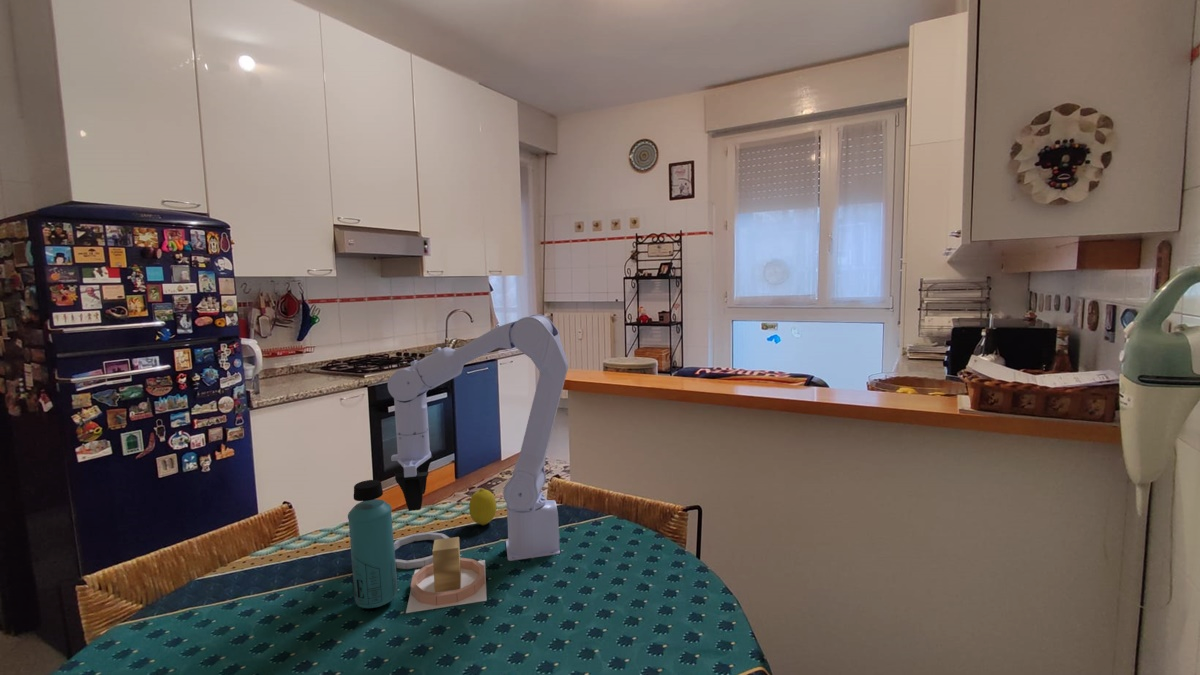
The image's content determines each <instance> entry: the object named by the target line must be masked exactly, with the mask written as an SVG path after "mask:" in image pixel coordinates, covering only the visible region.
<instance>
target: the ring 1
mask: <svg viewBox="0 0 1200 675" xmlns="http://www.w3.org/2000/svg"><path fill="white" fill-rule="evenodd" d="M445 538H450V537H449V536H448V535H447V534H444V533H441V532H440V533H439V532H431V531H426V532H418V533H412V534H410V535H409V534H408V535H407V536H404V537H401V538H397V539H396V540H394V549H395V548H396V549H395V550H396V551H397V550H398V549H400V547H403V546H405V545H409V544H411V543H414V542H419V541H427V540H429V541H434V540H437V539H445ZM395 559H396V560H395V562H396V563H397V569H402V570H411V569H417V568H418V569H420V568H423V567H424V566H426V565H429V564H432V563H433V554H432V555H429V556H426V557H424V558H418V559H410V560H406V559H405V560H404V559H400V558H399V559H398V558H395Z"/></svg>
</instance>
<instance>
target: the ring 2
mask: <svg viewBox="0 0 1200 675" xmlns="http://www.w3.org/2000/svg"><path fill="white" fill-rule="evenodd" d="M478 561H479V560H476V559H472V558H466V557H460V562H461V568H462V569H469V570H473V571H474V572H475V573H477V574H478V575H479V576H478V577H477V578H476V579H475V580H474V581H473V582H472V583H471V584H469V585H467V586H465V587H463V588H460V589H458V590H456V591H450V592H443V593H433V592H427V591H423V590H422V589H420V588H419V587H418V584H419V583H420V582H421V581H423V580H424V579H425V578H426V577H427V576H429V575H432V574H434V568H433V563H432V564H429V565H426V566H424V567H421V568H419V569H420V570H419V571H418V572H417V573H416V574H414V573H413V575H412V577H411V582H410V591H411V595H412V596H413V597H414V598H415V599H416V600H417V601H418V602H420V603H425V604H431V605H443V604H450V603H456V602H459V601H461V600H464V599H466V598H468V597H470V596H472V595H474V594H476V593H477V592H478V591H479V589H480V588H481V587H482V586H483V585H484V584H485V577H484V566H483V565H482V564H481V563H479V562H478Z"/></svg>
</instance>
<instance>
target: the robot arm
mask: <svg viewBox="0 0 1200 675" xmlns="http://www.w3.org/2000/svg"><path fill="white" fill-rule="evenodd" d="M500 348H501V349H507V350H512V349H514V348H516V349H518V351H519V352H521V353H522V354H523V355H525V356H527V357H528V358H529V359H530V360H531V361H532V362H533V364H534V365H535V367H536V368H537V369H538V371H539V376H538V381H537V384H536V388H535V392H534V396H533V400H532V404H531V408H530V411H529V416H528V420H527V424H526V428H525V433H524V435H523V440H522V444H521V448H520V452H519V455H518V458H517V461H516V464H515V466H514V469H513V472H512V476H511V477H510V478H509V480H508V481H507V482H506V483H505V485H504V487H503V492H502V493H503V494H502V495H503V500H504V503H505V504H506V513H507V514H506V517H507V519H506V520H507V537H508V539H506V540H505V546H506V547H505V548H506V554H507V555H506V557H507V561H508V562H511V561H512V562H513V561H519V560H526V559H531V558H539V557H540V558H541V557H548V556H554V555H560V554H561V551H560V529H559V513H558V507H557V506H558V505H557V502H556V500H554V499H547V498H546V497H545V495H544V493H543V491H542V489H543V487H544V486H545V484H546V481H547V480H546V479H547V476H546V475H547V473H546V470H545V466H546V459H547V457H546V456H547V452H548V447H549V444H550V439H551V437H552V432H553V428H554V424H555V420H556V417H557V412H558V409H559V405H560V401H561V399H562V398H561V397H562V393H563V389H564V387H565V386H564V385H565V382H566V378H567V375H568V374H567V373H568V371H569V361H568V358H567V356H566V352H565V349H564V347H563V343H562V340H561V336H560V331H559V329H558V328H557V327H556V326H555V324H554V323H553V322H552V320H551V319H550V318H549V317H547V316H545V315H544V314H539V313H536V314H531V315H529V316H525V317H522V318H519V319H518V320H514V321H511V322H509V323H505V324H502V325H500V326H496V327H494V328H492V329H491V330H489V331H486V332H485V333H483V334H482V335H480V336H478V337H477V338H475V339H473V340H471V341H468V342H467V343H465V344H464V345H462V346H460V347H459V348H456V349H455V348H450V347H448V346H446V347H443V348H442V347H440V346H439V347H436V348H434V349H432V351H431V352H432V353H431V354H430V355H428V356H425V357H424V358H422V359H420V360H418V359H415V360H412V361H410V366H408V367H405V368H399V369H397V370H396V371H395V372H394V373H392V374H391V376H389V378H388V381H387V390H388V394H390V396H391V397H392V398H393V401H394V403H393V404H394V420H395V432H396V433H395V434H396V448H397V454H391V457H390V459H391V462H398V464H399V465H401V467H402V468H403V471H401V472H396V473H395V476H394V479H395V482H396V483H397V484H398V486H399V488H400V489H401V491H402V493H403V497H404V500H405V503H406V507H407V510H408V512H410V511H413V512H414V511H420V510H421V509H422V505H423V496H424V494H425V492H426V489H427V479H428V476H429V473H430V471H429V468H430V466H431V462H432V460H433V454H432V452H431V449H430V446H431V444H430V433H429V432H430V431H429V430H430V429H429V415H428V401H427V400H428V399H427V393H428V391H429V390H433V389H435V388H437V387H439V386H440V385H442V384H444V383H446V382H448V381H451V380H452V379H455V378H457V377H458V376H460V375H461V374H462V373H463V369H464V366H465V364H468V363H470V362H472V361H474V360H476V359H478V358H481V357H482V356H484V355H486V354H488V353H491V352H492V351H494V350H497V349H500Z"/></svg>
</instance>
